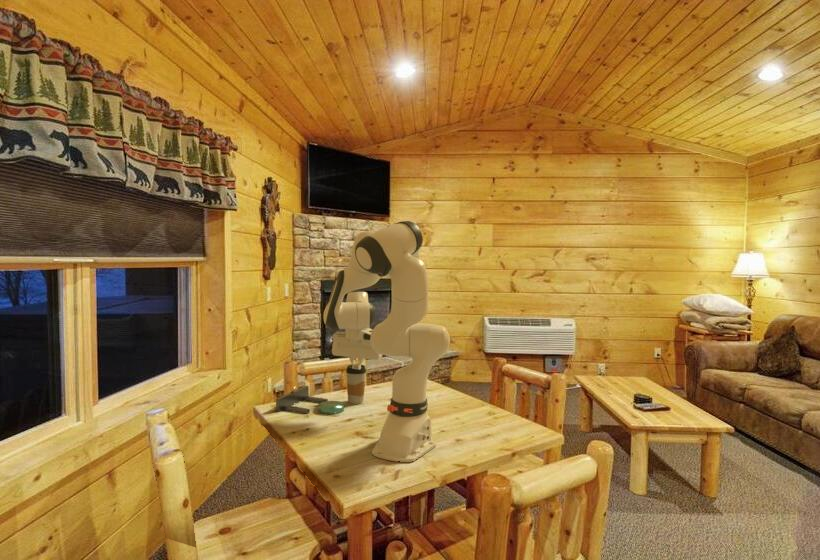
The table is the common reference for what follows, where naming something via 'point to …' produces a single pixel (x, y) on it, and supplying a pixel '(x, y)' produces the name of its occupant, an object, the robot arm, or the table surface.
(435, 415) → the table surface
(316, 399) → the cradle
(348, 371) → the coffee cup
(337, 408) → the cover disc
